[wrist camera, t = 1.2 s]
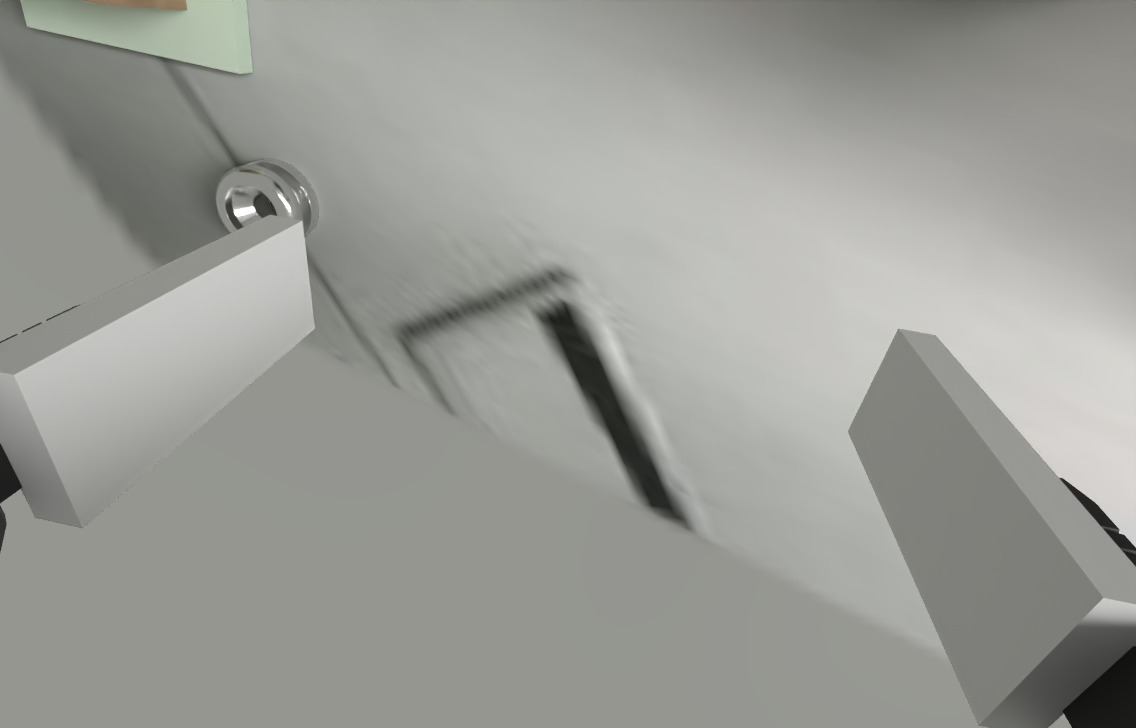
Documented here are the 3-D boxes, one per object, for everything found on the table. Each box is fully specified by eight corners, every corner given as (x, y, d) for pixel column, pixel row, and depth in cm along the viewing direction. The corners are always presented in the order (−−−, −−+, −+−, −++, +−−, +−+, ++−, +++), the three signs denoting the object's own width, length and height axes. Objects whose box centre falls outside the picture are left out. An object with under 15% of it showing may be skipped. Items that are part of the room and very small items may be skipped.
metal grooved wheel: (227, 166, 35) (263, 245, 37) (193, 176, 32) (234, 260, 35) (299, 151, 34) (332, 233, 36) (270, 160, 31) (306, 249, 33)
